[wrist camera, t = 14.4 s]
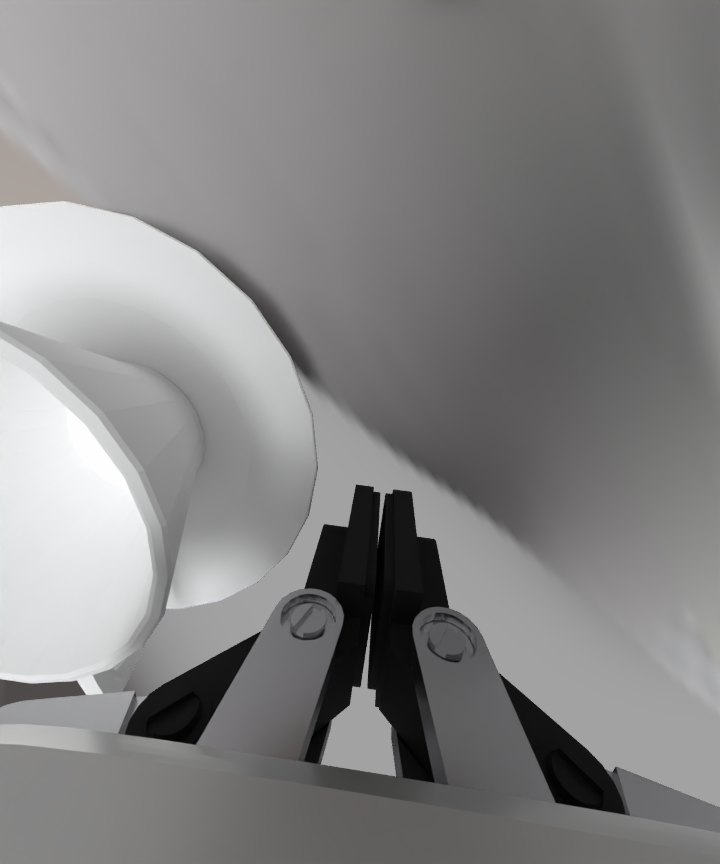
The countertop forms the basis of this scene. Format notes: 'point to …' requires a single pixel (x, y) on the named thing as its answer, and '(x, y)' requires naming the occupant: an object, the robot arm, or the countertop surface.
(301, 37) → the countertop surface
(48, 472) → the teacup
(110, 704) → the robot arm
